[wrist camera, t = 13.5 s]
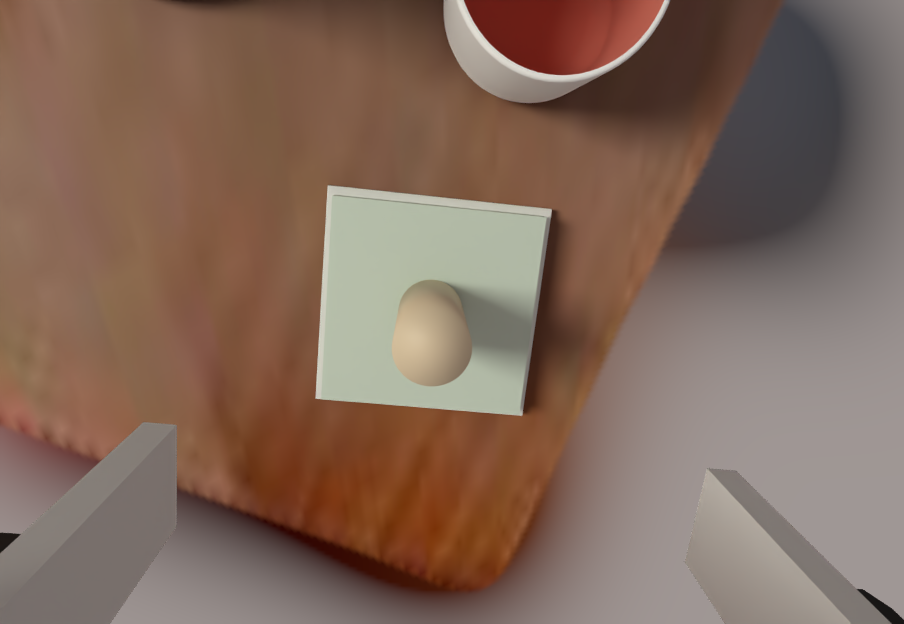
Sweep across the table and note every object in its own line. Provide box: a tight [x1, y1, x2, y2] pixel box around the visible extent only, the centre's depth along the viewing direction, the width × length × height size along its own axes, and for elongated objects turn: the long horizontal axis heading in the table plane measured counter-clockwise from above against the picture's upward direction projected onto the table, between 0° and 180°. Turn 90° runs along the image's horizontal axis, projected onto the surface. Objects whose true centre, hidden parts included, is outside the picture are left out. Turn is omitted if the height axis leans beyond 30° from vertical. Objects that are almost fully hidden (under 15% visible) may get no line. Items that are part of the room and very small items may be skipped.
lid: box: [321, 195, 547, 415], centre depth 34 cm, size 13×13×9 cm
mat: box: [316, 185, 552, 416], centre depth 38 cm, size 14×14×1 cm
